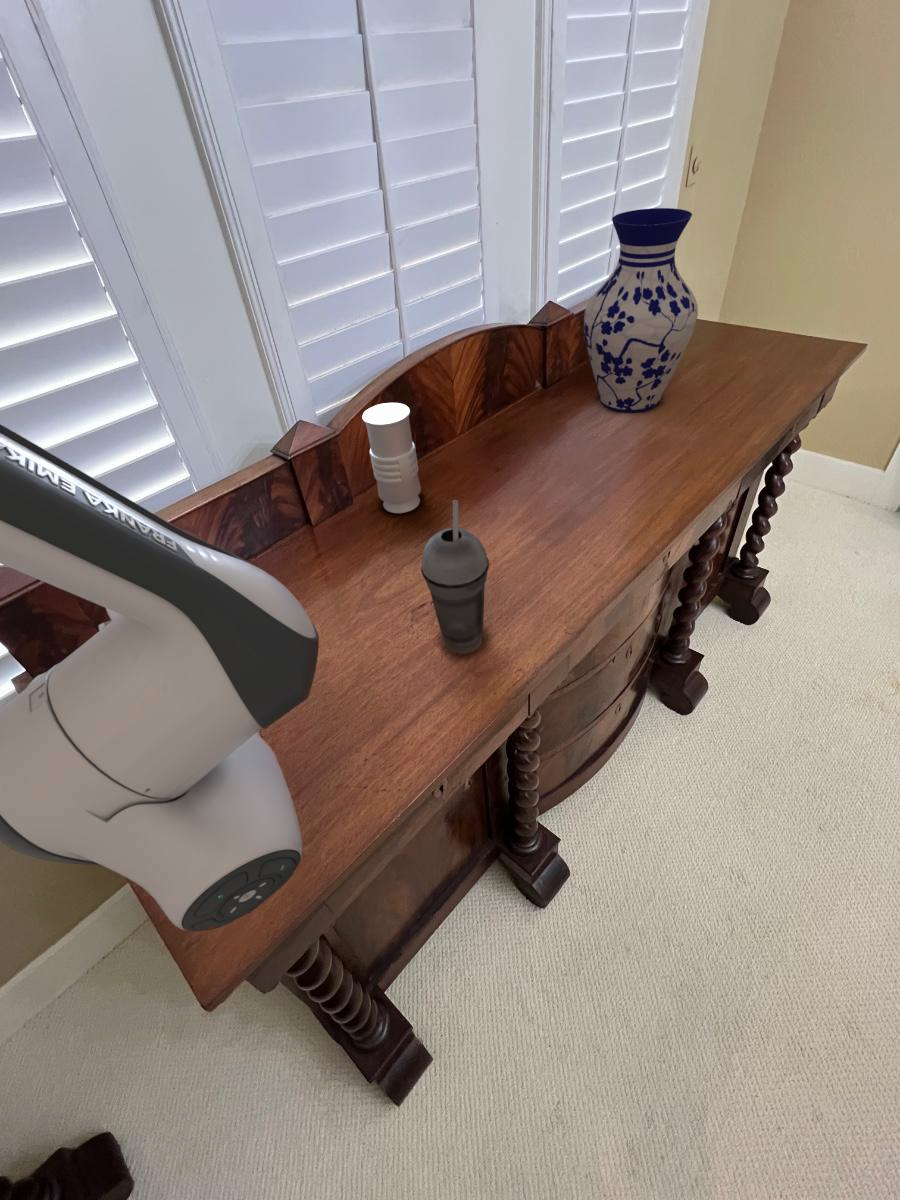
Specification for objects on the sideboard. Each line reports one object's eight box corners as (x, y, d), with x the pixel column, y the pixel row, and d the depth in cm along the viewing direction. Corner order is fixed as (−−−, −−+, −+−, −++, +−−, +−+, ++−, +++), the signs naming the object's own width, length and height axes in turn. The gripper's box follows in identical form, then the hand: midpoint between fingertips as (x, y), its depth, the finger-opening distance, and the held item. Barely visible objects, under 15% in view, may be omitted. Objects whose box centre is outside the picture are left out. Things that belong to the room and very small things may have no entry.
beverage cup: (464, 609, 73) (449, 469, 60) (506, 638, 69) (500, 494, 56) (420, 641, 70) (394, 500, 57) (462, 673, 66) (444, 528, 52)
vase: (583, 379, 121) (595, 207, 101) (681, 380, 116) (713, 200, 96) (573, 421, 108) (583, 233, 87) (682, 424, 103) (720, 226, 83)
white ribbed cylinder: (393, 520, 89) (375, 429, 79) (372, 501, 94) (353, 412, 84) (431, 504, 92) (419, 413, 82) (409, 486, 96) (395, 398, 86)
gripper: (305, 622, 45) (252, 538, 54) (14, 754, 38) (10, 632, 47) (324, 675, 49) (272, 589, 58) (65, 802, 42) (53, 682, 52)
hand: (153, 609), depth 53 cm, fingers closed on lightbulb, 6 cm apart
